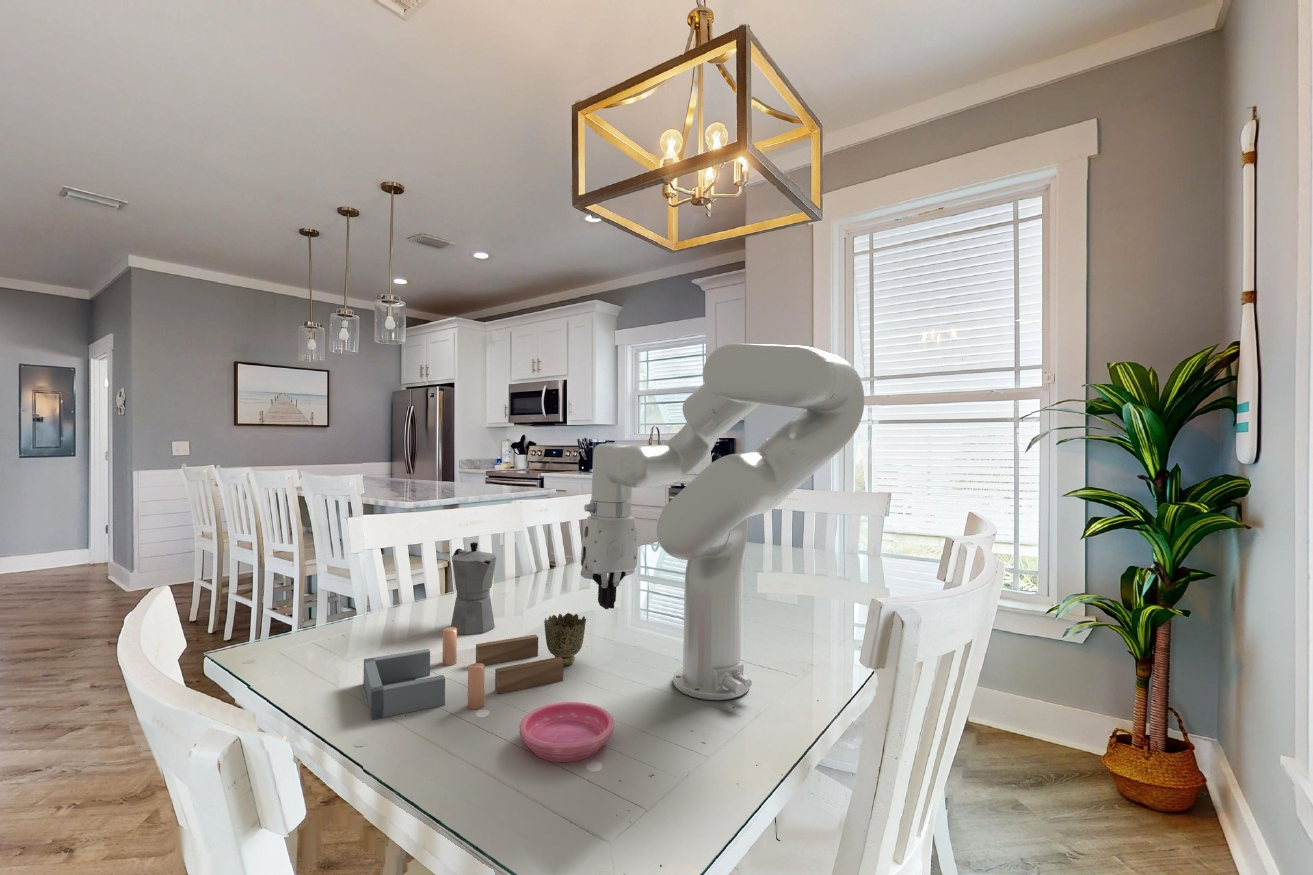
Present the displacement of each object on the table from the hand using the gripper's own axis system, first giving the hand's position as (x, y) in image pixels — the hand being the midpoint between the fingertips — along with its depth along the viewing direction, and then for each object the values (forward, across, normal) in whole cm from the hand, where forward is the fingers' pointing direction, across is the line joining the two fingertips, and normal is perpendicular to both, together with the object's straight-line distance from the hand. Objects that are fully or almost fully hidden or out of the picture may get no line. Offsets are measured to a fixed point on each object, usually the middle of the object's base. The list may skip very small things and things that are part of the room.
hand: (606, 606), depth 113 cm
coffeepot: (+10, -18, +27) cm, 34 cm away
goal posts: (+9, -26, -1) cm, 28 cm away
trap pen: (+9, -36, -1) cm, 37 cm away
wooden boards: (+9, -17, -1) cm, 19 cm away
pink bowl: (+9, -18, -27) cm, 34 cm away
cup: (+9, -8, -1) cm, 13 cm away
